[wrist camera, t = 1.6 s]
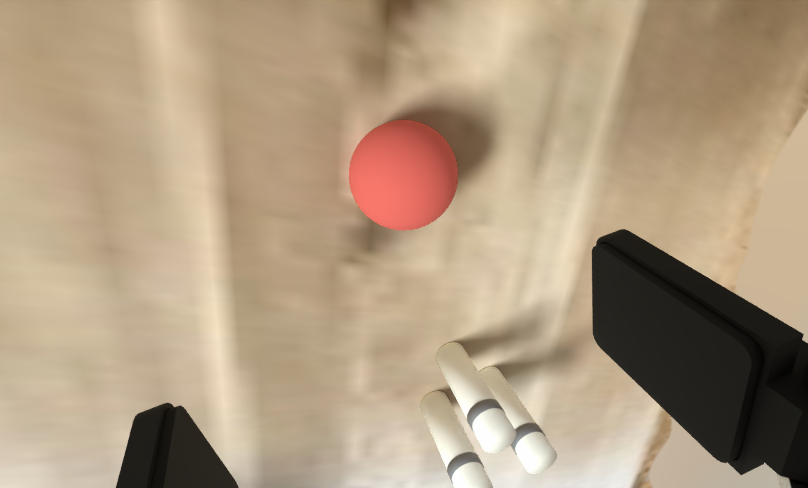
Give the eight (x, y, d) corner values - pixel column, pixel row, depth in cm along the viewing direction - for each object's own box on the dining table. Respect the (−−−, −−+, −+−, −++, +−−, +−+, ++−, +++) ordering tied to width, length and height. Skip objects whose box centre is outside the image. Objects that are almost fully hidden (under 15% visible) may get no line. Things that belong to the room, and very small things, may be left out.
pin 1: (416, 398, 38) (456, 491, 31) (443, 386, 38) (489, 474, 31) (423, 417, 39) (463, 510, 32) (450, 405, 40) (496, 494, 32)
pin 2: (471, 373, 39) (523, 458, 31) (498, 361, 39) (555, 443, 32) (476, 393, 40) (527, 479, 33) (502, 381, 40) (559, 464, 33)
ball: (325, 131, 26) (344, 161, 21) (422, 95, 27) (463, 116, 22) (359, 220, 29) (382, 265, 24) (445, 186, 30) (485, 223, 25)
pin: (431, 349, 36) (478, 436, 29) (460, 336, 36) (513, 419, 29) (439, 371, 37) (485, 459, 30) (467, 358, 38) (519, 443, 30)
